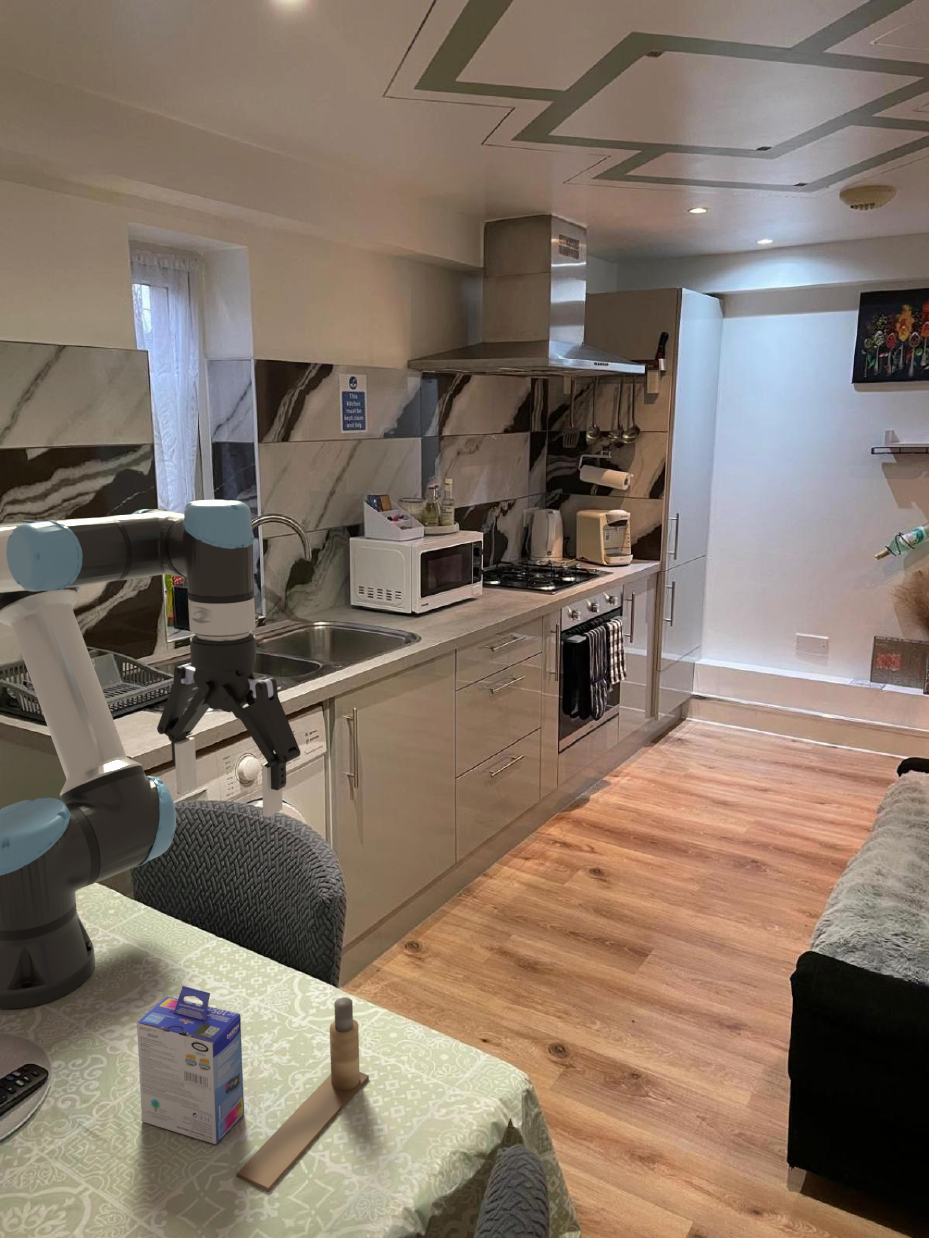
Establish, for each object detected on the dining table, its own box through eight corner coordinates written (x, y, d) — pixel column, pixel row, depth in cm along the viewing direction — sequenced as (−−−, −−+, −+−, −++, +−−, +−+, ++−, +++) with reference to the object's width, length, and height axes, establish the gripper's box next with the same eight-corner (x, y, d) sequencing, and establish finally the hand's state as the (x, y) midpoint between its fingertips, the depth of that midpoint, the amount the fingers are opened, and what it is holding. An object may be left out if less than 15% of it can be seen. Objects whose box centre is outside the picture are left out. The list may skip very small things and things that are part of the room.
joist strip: (236, 1176, 92) (236, 1172, 92) (339, 1067, 108) (339, 1064, 108) (268, 1191, 91) (268, 1187, 91) (368, 1078, 106) (368, 1075, 106)
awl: (325, 1085, 105) (323, 1006, 102) (341, 1068, 107) (339, 991, 105) (349, 1094, 103) (347, 1015, 101) (365, 1076, 106) (363, 999, 104)
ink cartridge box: (248, 1111, 101) (242, 992, 98) (218, 1147, 96) (211, 1024, 93) (172, 1089, 104) (164, 973, 101) (140, 1123, 99) (131, 1003, 96)
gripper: (121, 626, 111) (131, 790, 116) (288, 654, 100) (291, 835, 105) (167, 614, 118) (174, 771, 122) (328, 640, 107) (330, 811, 111)
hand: (228, 801), depth 114 cm, fingers open, 13 cm apart
